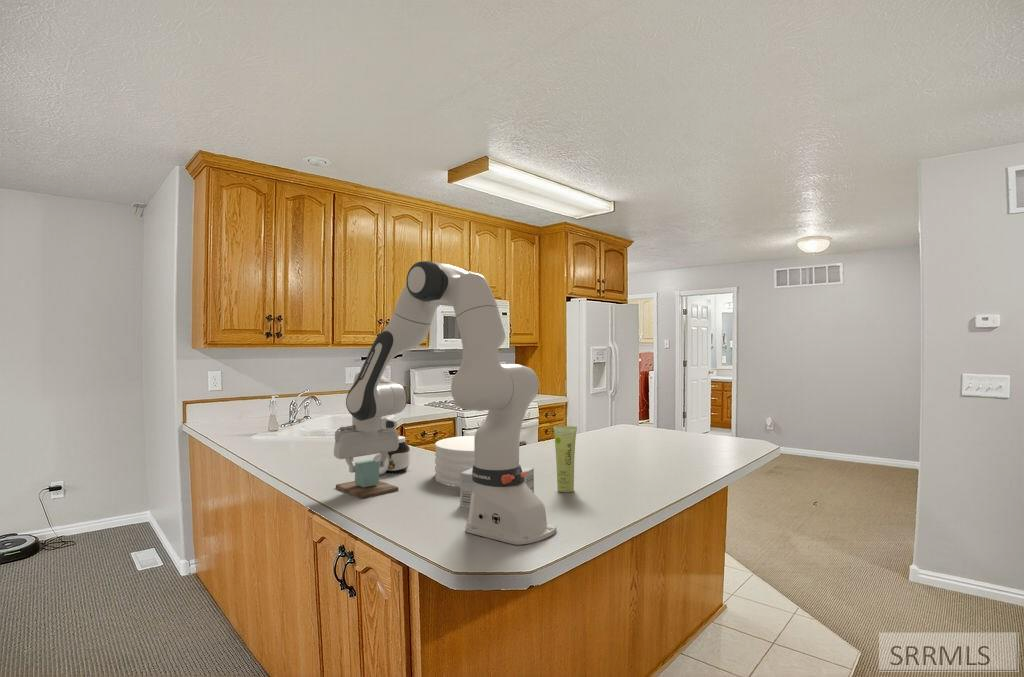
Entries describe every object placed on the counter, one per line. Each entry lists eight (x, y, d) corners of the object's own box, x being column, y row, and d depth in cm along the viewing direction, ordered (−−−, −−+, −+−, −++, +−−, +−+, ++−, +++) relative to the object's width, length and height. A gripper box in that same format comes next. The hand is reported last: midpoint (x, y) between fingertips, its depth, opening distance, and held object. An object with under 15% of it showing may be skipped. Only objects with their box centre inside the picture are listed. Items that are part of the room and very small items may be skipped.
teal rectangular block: (379, 484, 158) (379, 462, 159) (363, 487, 155) (363, 465, 155) (370, 481, 162) (370, 459, 162) (354, 484, 158) (355, 462, 159)
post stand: (398, 490, 157) (398, 465, 157) (362, 498, 148) (362, 472, 149) (371, 480, 168) (371, 457, 168) (335, 487, 160) (336, 463, 160)
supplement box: (534, 500, 148) (534, 467, 148) (516, 514, 136) (516, 478, 136) (481, 494, 154) (481, 462, 154) (459, 506, 142) (459, 472, 142)
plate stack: (420, 484, 165) (420, 447, 165) (454, 465, 192) (455, 433, 192) (504, 491, 157) (504, 453, 157) (528, 470, 184) (528, 437, 184)
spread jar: (412, 468, 185) (412, 436, 186) (402, 476, 174) (402, 441, 174) (379, 468, 187) (379, 435, 187) (367, 475, 175) (368, 440, 175)
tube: (559, 493, 154) (559, 427, 155) (552, 489, 159) (552, 425, 159) (576, 492, 156) (576, 426, 156) (570, 487, 161) (570, 424, 161)
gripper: (340, 428, 149) (339, 477, 149) (401, 421, 164) (401, 465, 163) (330, 426, 154) (329, 473, 153) (390, 419, 168) (390, 462, 168)
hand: (367, 469), depth 158 cm, fingers open, 8 cm apart
